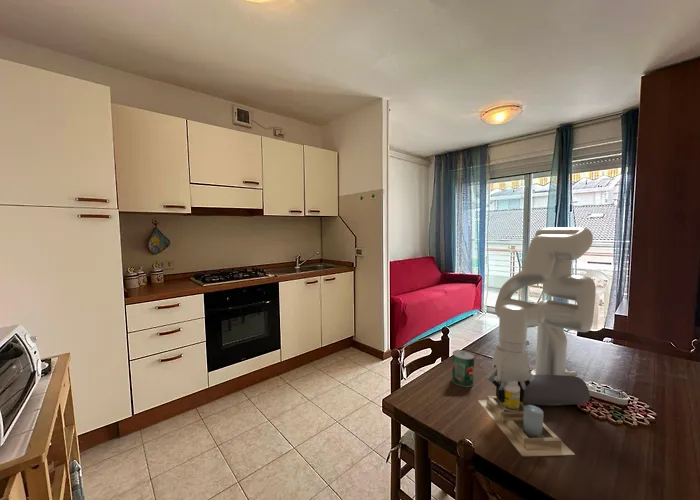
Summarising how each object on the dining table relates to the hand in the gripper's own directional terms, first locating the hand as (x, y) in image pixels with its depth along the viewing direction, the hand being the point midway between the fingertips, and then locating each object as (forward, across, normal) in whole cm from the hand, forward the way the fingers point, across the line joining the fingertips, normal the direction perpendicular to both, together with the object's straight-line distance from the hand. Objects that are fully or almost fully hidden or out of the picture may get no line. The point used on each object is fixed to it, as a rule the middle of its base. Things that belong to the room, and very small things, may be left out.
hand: (509, 399), depth 91 cm
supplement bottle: (+3, 0, 0) cm, 3 cm away
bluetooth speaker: (+6, -16, -5) cm, 17 cm away
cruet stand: (+5, 0, +6) cm, 8 cm away
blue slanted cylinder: (+4, 0, +11) cm, 12 cm away
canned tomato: (+6, +6, -20) cm, 22 cm away
